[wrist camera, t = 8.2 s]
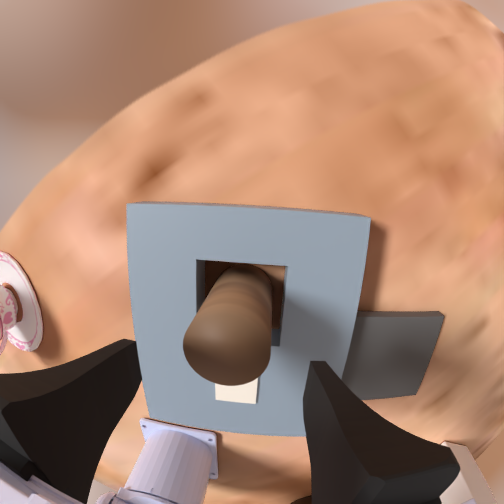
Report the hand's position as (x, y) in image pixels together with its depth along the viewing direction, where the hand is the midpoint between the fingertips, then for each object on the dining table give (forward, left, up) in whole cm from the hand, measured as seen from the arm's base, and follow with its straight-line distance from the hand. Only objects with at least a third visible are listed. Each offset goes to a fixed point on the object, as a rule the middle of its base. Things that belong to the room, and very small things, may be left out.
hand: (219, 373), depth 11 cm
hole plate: (-3, 0, -10) cm, 10 cm away
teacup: (-5, +26, -10) cm, 29 cm away
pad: (-5, -12, -10) cm, 16 cm away
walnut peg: (0, 0, -10) cm, 10 cm away
